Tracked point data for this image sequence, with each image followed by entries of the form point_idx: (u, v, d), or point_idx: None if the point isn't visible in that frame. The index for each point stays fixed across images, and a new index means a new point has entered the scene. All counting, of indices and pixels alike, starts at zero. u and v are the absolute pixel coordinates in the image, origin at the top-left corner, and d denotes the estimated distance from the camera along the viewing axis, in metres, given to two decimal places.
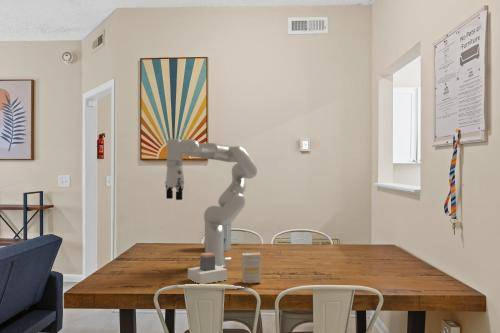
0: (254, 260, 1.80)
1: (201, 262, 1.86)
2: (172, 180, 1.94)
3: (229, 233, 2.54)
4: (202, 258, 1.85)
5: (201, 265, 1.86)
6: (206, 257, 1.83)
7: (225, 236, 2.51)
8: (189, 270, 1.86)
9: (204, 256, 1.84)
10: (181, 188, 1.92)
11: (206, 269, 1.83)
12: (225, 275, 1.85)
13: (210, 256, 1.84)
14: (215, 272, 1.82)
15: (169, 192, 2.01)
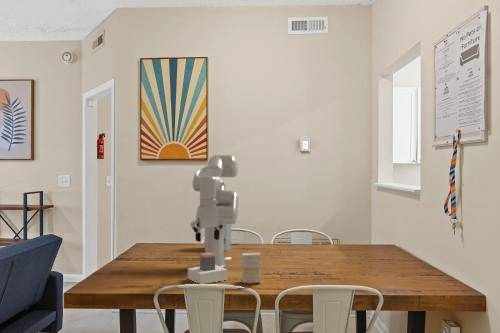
0: (254, 260, 1.80)
1: (201, 262, 1.86)
2: (214, 220, 1.86)
3: (229, 233, 2.54)
4: (202, 258, 1.85)
5: (201, 265, 1.86)
6: (206, 257, 1.83)
7: (225, 236, 2.51)
8: (189, 270, 1.86)
9: (204, 256, 1.84)
10: None
11: (206, 269, 1.83)
12: (225, 275, 1.85)
13: (210, 256, 1.84)
14: (215, 272, 1.82)
15: None
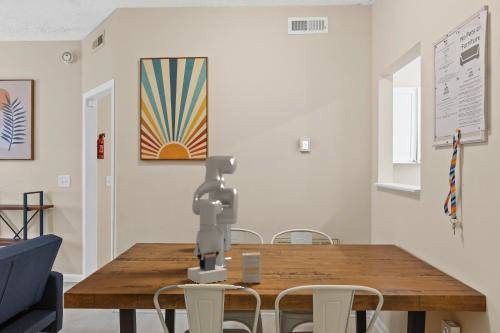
0: (254, 260, 1.80)
1: None
2: (214, 245, 1.86)
3: (229, 233, 2.54)
4: None
5: None
6: (206, 257, 1.83)
7: (225, 236, 2.51)
8: (189, 270, 1.86)
9: (204, 256, 1.84)
10: None
11: (206, 269, 1.83)
12: (225, 275, 1.85)
13: (210, 256, 1.84)
14: (215, 272, 1.82)
15: None
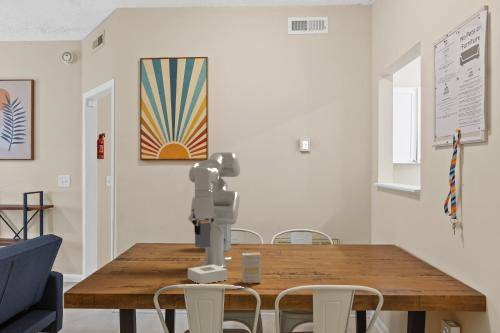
0: (254, 260, 1.80)
1: None
2: (209, 211, 1.85)
3: (229, 233, 2.54)
4: None
5: None
6: (201, 223, 1.82)
7: (225, 236, 2.51)
8: (189, 270, 1.86)
9: (199, 222, 1.83)
10: None
11: (202, 235, 1.82)
12: (225, 275, 1.85)
13: (205, 222, 1.84)
14: (215, 272, 1.82)
15: None
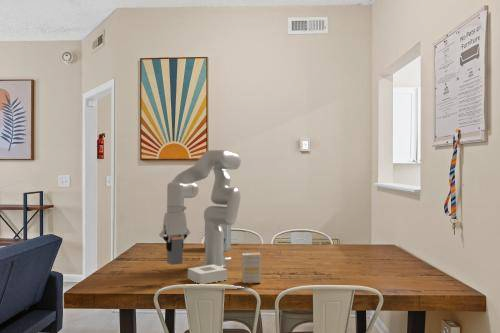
0: (254, 260, 1.80)
1: None
2: (182, 227, 1.82)
3: (229, 233, 2.54)
4: None
5: None
6: (173, 239, 1.79)
7: (225, 236, 2.51)
8: (189, 270, 1.86)
9: (171, 238, 1.79)
10: None
11: (173, 252, 1.79)
12: (225, 275, 1.85)
13: (177, 238, 1.80)
14: (215, 272, 1.82)
15: None
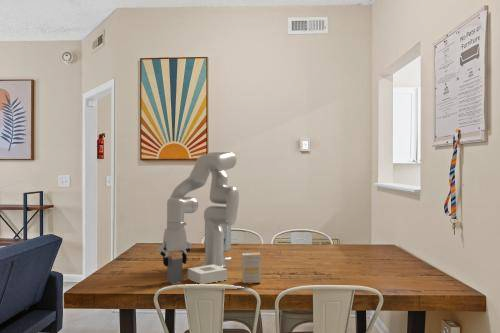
0: (254, 260, 1.80)
1: (168, 264, 1.81)
2: (182, 243, 1.82)
3: (229, 233, 2.54)
4: (169, 260, 1.81)
5: (168, 267, 1.81)
6: (172, 259, 1.79)
7: (225, 236, 2.51)
8: (189, 270, 1.86)
9: (171, 258, 1.79)
10: None
11: (173, 271, 1.79)
12: (225, 275, 1.85)
13: (177, 258, 1.80)
14: (215, 272, 1.82)
15: None
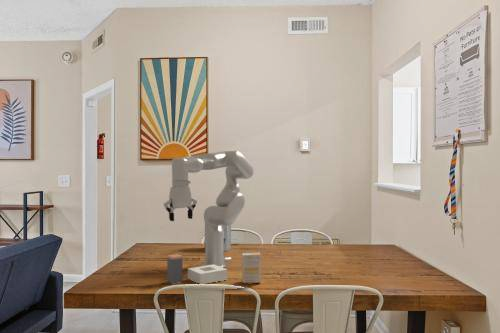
0: (254, 260, 1.80)
1: (168, 264, 1.81)
2: (187, 200, 1.92)
3: (229, 233, 2.54)
4: (169, 260, 1.81)
5: (168, 267, 1.81)
6: (172, 259, 1.79)
7: (225, 236, 2.51)
8: (189, 270, 1.86)
9: (171, 258, 1.79)
10: None
11: (173, 271, 1.79)
12: (225, 275, 1.85)
13: (177, 258, 1.80)
14: (215, 272, 1.82)
15: None
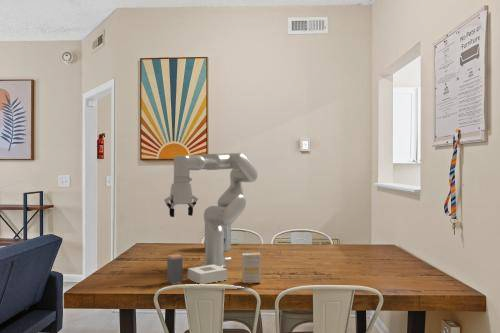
0: (254, 260, 1.80)
1: (168, 264, 1.81)
2: (188, 197, 1.95)
3: (229, 233, 2.54)
4: (169, 260, 1.81)
5: (168, 267, 1.81)
6: (172, 259, 1.79)
7: (225, 236, 2.51)
8: (189, 270, 1.86)
9: (171, 258, 1.79)
10: None
11: (173, 271, 1.79)
12: (225, 275, 1.85)
13: (177, 258, 1.80)
14: (215, 272, 1.82)
15: None
